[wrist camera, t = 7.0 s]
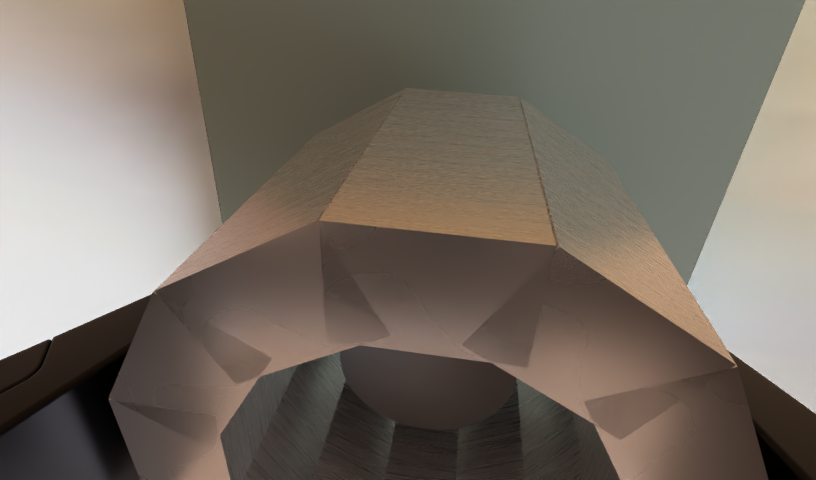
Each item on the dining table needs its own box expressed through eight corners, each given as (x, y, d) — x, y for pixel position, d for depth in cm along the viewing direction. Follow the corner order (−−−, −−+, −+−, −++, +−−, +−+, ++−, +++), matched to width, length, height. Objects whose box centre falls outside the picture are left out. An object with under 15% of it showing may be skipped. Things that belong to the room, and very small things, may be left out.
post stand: (610, 403, 16) (678, 637, 10) (269, 356, 17) (165, 544, 12) (802, -109, 9) (1331, -236, 3) (200, -128, 10) (-149, -244, 5)
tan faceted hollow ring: (583, 410, 11) (642, 682, 7) (292, 370, 12) (185, 592, 8) (683, 108, 8) (931, 285, 3) (259, 76, 8) (24, 188, 4)
